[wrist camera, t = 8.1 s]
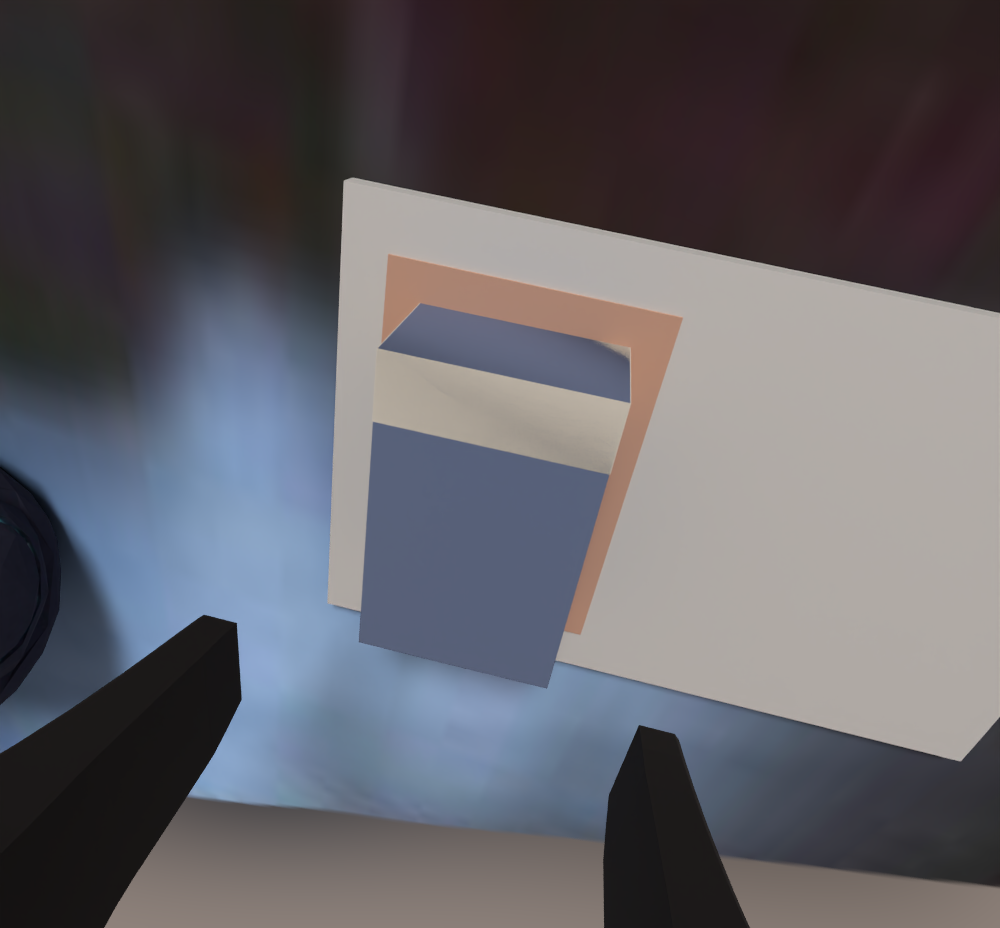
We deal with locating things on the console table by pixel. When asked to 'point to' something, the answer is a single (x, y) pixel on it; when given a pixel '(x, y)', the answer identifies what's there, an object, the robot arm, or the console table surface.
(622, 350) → the card deck
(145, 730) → the robot arm
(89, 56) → the console table surface
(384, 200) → the mat
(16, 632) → the portable speaker
